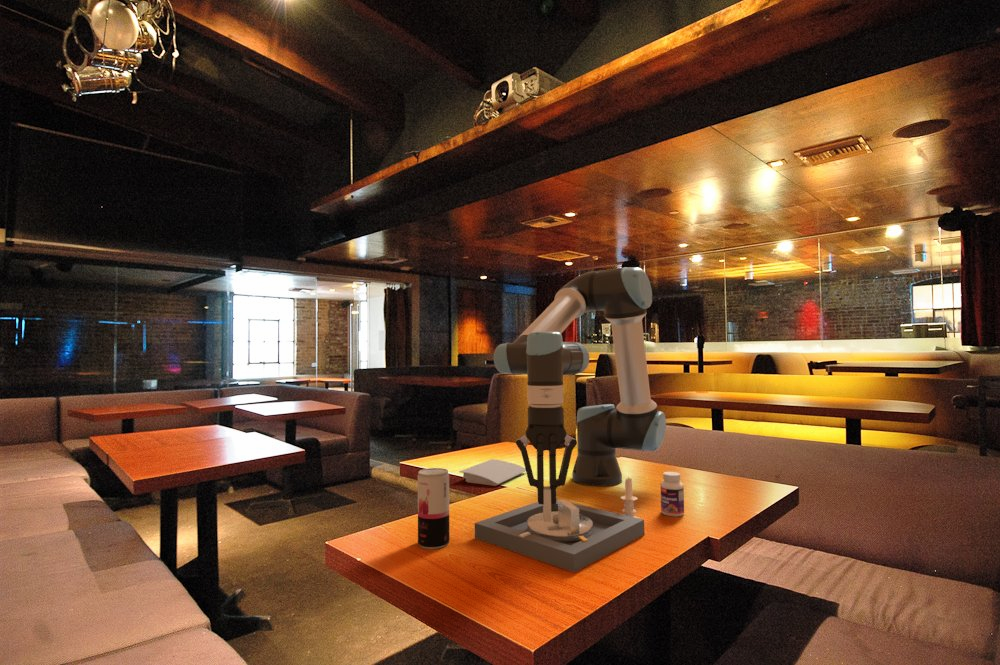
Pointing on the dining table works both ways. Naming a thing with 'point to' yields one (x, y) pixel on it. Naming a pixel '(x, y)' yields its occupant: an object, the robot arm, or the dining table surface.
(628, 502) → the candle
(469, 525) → the dining table surface
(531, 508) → the panel
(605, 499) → the dining table surface
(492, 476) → the book
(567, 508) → the dial
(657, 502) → the dining table surface
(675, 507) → the pill bottle
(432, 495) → the beverage can
